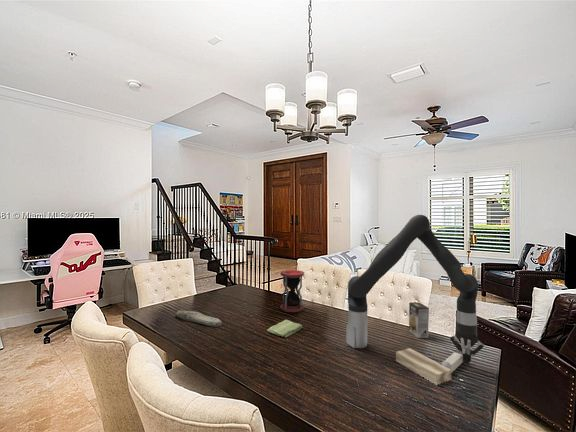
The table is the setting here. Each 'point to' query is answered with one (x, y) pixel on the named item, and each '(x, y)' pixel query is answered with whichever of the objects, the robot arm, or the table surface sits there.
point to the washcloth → (285, 328)
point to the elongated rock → (198, 318)
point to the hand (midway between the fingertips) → (467, 362)
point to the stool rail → (423, 366)
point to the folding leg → (453, 360)
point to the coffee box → (418, 319)
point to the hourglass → (292, 291)
